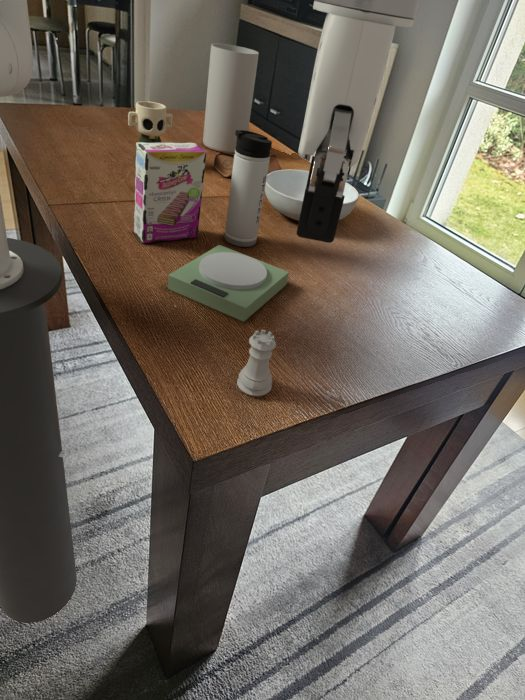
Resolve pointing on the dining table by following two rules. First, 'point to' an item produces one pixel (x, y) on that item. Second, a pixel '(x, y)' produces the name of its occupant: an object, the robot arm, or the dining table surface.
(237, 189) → the travel mug
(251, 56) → the cylinder vase
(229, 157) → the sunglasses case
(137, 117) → the character mug
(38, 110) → the dining table surface
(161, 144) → the candy bar box
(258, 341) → the rook chess piece
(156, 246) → the dining table surface
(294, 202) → the serving bowl
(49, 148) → the dining table surface
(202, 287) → the kitchen scale
